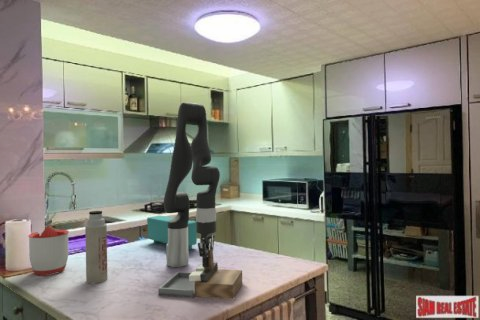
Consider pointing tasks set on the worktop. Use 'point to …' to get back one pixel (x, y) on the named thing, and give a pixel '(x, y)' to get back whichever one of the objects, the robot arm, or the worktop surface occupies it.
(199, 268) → the tile
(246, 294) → the worktop surface
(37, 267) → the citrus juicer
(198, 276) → the tile
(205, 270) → the scraper
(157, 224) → the radio
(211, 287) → the board
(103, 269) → the thermos bottle
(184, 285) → the bin
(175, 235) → the robot arm
